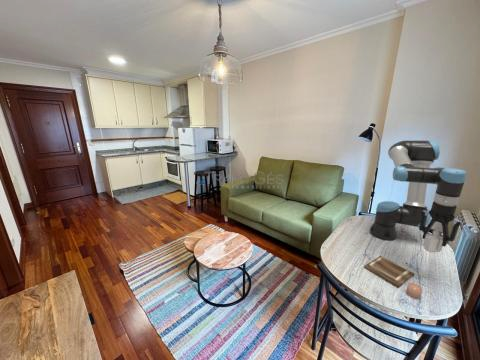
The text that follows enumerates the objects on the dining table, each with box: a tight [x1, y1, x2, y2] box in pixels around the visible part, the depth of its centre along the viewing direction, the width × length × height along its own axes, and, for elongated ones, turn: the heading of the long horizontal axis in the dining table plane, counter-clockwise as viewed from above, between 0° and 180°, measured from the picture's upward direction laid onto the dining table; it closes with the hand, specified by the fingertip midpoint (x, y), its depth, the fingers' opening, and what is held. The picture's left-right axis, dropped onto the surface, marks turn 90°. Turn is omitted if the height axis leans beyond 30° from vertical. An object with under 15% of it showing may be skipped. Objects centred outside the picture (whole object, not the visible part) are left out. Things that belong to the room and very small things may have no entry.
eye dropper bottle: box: [423, 227, 443, 253], centre depth 93 cm, size 4×6×12 cm
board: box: [363, 255, 415, 289], centre depth 103 cm, size 16×16×2 cm
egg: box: [405, 282, 423, 300], centre depth 89 cm, size 5×5×4 cm
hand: (432, 247), depth 94 cm, fingers closed on eye dropper bottle, 5 cm apart
